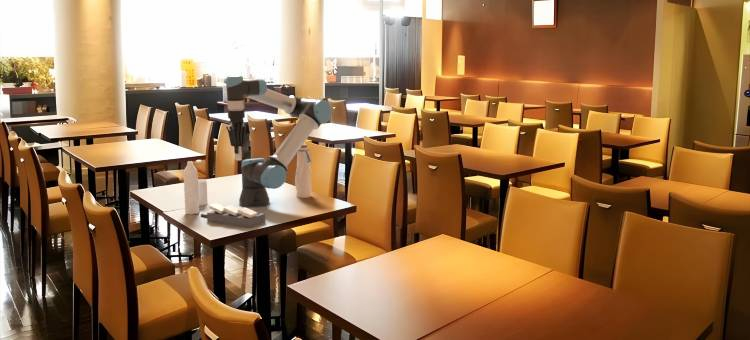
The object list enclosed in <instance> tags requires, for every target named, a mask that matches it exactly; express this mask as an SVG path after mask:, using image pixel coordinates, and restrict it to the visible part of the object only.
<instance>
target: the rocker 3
mask: <svg viewBox="0 0 750 340" xmlns="http://www.w3.org/2000/svg"><path fill="white" fill-rule="evenodd" d="M237 213H240V214H242V215H244V216H246V217H249V218H252V217H254V216H257V213H258V212H257V211H255V210H252V209H251V208H247V206H243V207H242V208H238V212H237Z"/></svg>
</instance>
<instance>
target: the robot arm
mask: <svg viewBox="0 0 750 340" xmlns="http://www.w3.org/2000/svg"><path fill="white" fill-rule="evenodd" d="M225 83H226V84H225V86H226V99H227V100H226V101H227V118H228V119H229V125H226V127H225V128H226V130H227V133H228V139H229V143H230V146H231V147H233V148H234V149H233V150H234V152H233V153H234V160H235V161H239V162H240V161H241V165H240V166H241V167H240V168H241V184H242V185H241V188H242V189H241V193H240V196H239V200H238V202H239V205H240V206H242V207H246V208H247V207H250V208H251V207H256V208H257V207H263V206H267V205H270V197H269V194H268V191H267V189H273V190H274V189H279V188H280V187H282V186H283V185H284V184H285V183H286V180H287V176H288V175H287V172H288V169H289V168H288V166H289V164H290V162H291V161H292V160H293V159H294V158H295V156H296V155H297V152H298V150H299V149H300V147H301V146H302V145H303V144H305V142H306V141H307V139H308V138H309V137H310V135H312V132H313V131H314V130H318V129H319V128H320V126H321V125H322V124H326V123H328V122H329V121H330V119H331V118H332V113H333V112H332V106H331V104H330V103H329V102H328V101H327V100H324V99H321V98H318V99H316V98H308V97H297V96H294V95H289V96H288V95H286V94H283V93H280V92H278V91H276V90H272V89H270V88H268V86H267V82H266V80H264V79H262V78H256V79H254V78H244V77H243V76H242V75H228V76H227V77H226V81H225ZM245 98H249V99H251V100H254V101H257V102H259V103H262V104H265V105H268V106H271V107H274V108H277V109H279V110H282V111H284V112H285V114H288V115H290V116H293V117H295V118H297V119H299V120H298V121H297V123H296V124H295V125H294V127H293V128H292V129H291V131H290V132H289V133H288V135H287V136H286V137H285V139H284V140H283V141H282V142H281V144H280V146H279V147H277V149H276V151H275V152H274V153H273V155H268V156H267V158H266V159H265V157H257V158H246V159H243V153H242V151H243V149H242V147H244V145H245V141H246V132H247V126H248V123H247V122H246V123H245V122H244V119H245V117H246V116H245Z"/></svg>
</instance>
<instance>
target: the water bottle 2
mask: <svg viewBox="0 0 750 340" xmlns="http://www.w3.org/2000/svg"><path fill="white" fill-rule="evenodd" d="M296 156H297V157H296V171H295V177H294V186H295V189H296V194H295V195H296V196H295V197H296V198H297V199H298V198H299V199H306V198H311V193H312V191H313V190H312V189H313V185H312V184H313V183H312V168H311V167H312V166H311V164H312V163H313V161H312V153H311V149H309V148H308V144H307V143H303V145H302V146H301V147H300V149H299V150H298V152H297V153H296Z"/></svg>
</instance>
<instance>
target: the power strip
mask: <svg viewBox="0 0 750 340" xmlns="http://www.w3.org/2000/svg"><path fill="white" fill-rule="evenodd" d="M200 217H203V218H206V219H207V220H206V221H207V222H208V223H214V224H221V225H227V226H234V227H240V228H245V227H246V229H252V228H255V227H257V226H260V225H262V224H264V223H266V213H263V212H257V216H254V217H252V218H249V217H246V216H244V215H242V214H240V215H237V216H234V215H232V214H230V213H228V212H225V213H222V214H220V213H218V212H216V211H214V210H212V211H208V212H207V213H206V214H204V213H201V214H200Z"/></svg>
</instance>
